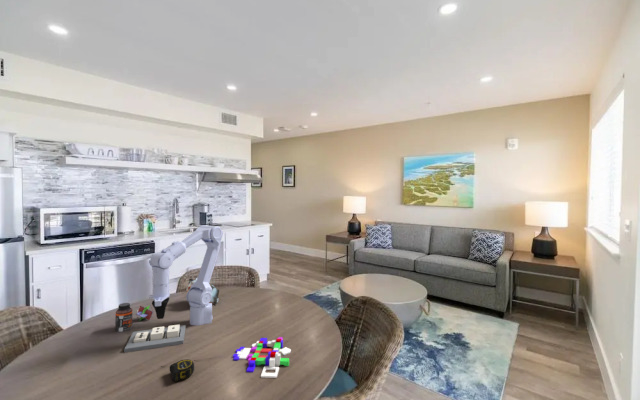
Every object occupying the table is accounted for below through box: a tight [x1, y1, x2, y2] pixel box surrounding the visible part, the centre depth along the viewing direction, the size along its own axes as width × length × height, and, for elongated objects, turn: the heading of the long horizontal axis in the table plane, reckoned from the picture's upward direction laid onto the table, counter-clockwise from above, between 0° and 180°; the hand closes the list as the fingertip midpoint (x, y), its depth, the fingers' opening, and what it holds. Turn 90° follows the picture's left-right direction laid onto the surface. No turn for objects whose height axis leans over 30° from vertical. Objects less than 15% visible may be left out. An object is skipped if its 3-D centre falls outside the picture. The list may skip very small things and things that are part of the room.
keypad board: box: [123, 324, 186, 353], centre depth 115 cm, size 19×14×2 cm
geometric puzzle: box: [135, 304, 154, 322], centre depth 135 cm, size 7×7×8 cm
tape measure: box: [169, 358, 195, 382], centre depth 94 cm, size 7×7×4 cm
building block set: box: [232, 336, 292, 379], centre depth 107 cm, size 25×20×4 cm
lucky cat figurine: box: [185, 277, 220, 307], centre depth 156 cm, size 17×14×16 cm
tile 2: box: [166, 323, 181, 339], centre depth 117 cm, size 4×6×4 cm, turn 21°
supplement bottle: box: [114, 302, 133, 333], centre depth 123 cm, size 6×6×11 cm
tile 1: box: [150, 326, 166, 341], centre depth 115 cm, size 4×6×4 cm, turn 21°
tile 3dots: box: [134, 331, 149, 343], centre depth 113 cm, size 4×6×4 cm, turn 21°
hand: (160, 318), depth 115 cm, fingers closed
